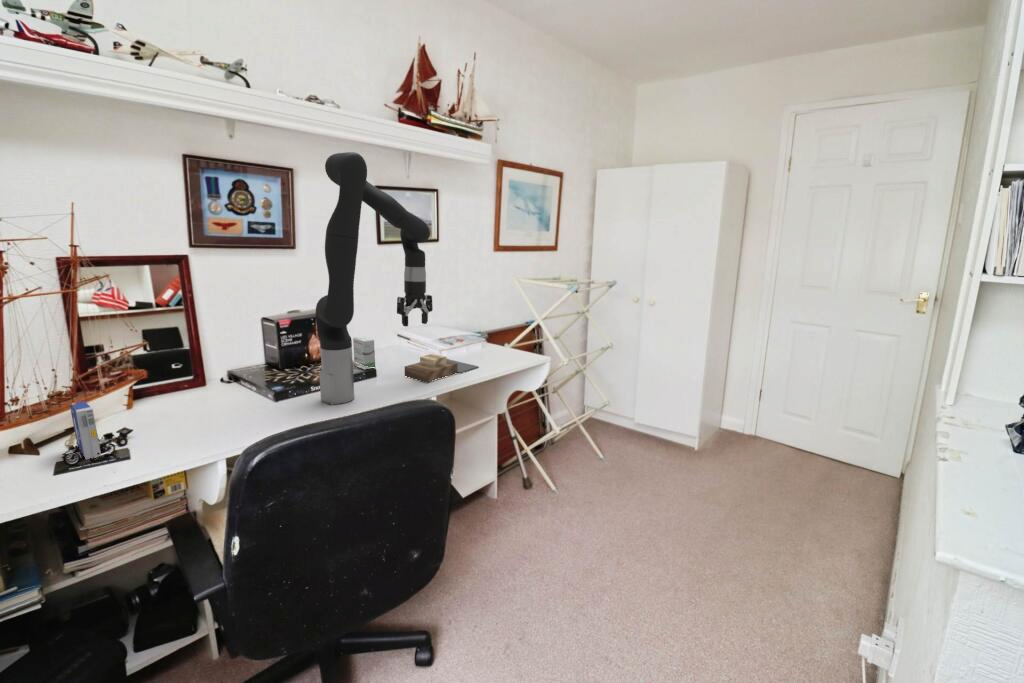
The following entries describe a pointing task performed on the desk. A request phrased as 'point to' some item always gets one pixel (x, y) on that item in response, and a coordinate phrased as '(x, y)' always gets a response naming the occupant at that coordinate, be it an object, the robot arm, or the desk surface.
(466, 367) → the charcoal mat
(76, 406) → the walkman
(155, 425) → the desk surface
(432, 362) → the maple block
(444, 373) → the walnut stand
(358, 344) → the ink box
